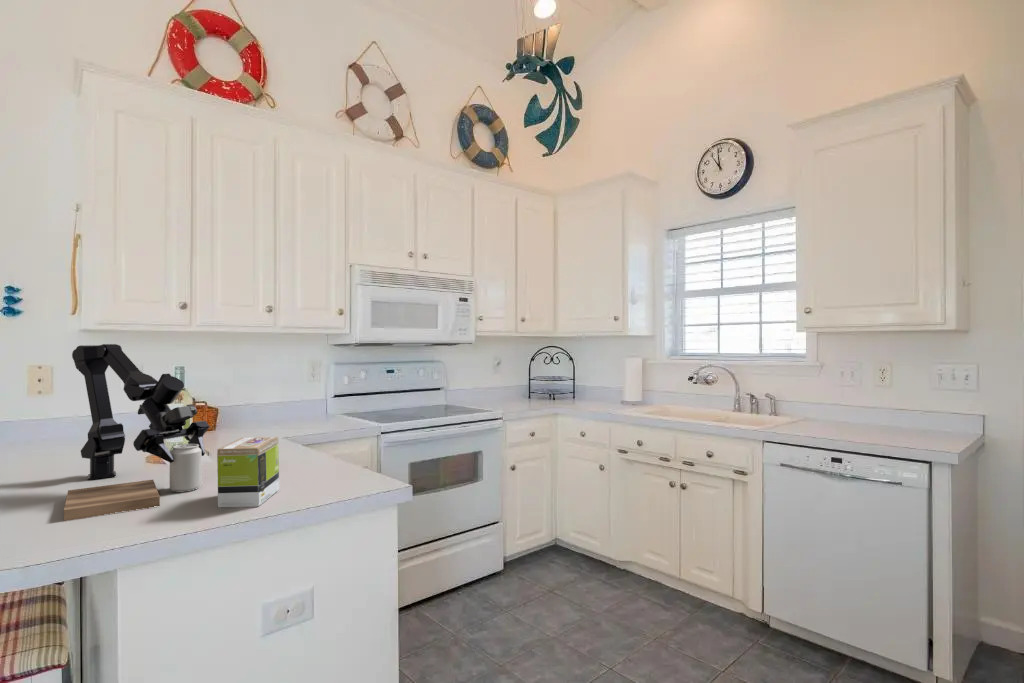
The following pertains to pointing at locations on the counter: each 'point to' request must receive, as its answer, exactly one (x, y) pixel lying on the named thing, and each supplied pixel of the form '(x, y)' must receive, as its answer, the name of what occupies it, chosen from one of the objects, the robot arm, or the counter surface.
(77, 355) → the robot arm
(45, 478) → the counter surface
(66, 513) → the brown wooden slab
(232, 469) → the tea box
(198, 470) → the can
